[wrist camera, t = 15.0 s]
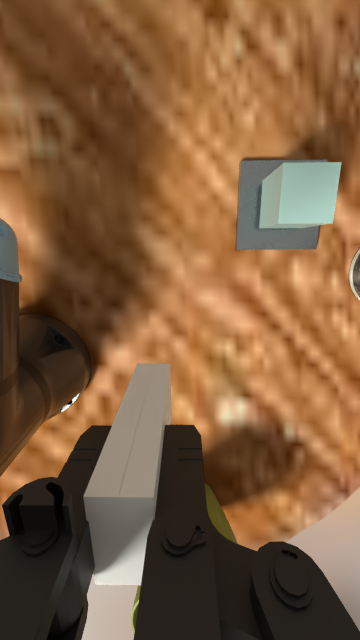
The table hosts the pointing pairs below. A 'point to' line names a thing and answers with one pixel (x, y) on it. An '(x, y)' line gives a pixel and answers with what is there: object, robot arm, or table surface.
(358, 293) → the coffee can
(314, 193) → the mint green block
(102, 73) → the table surface
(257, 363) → the table surface
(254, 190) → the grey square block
